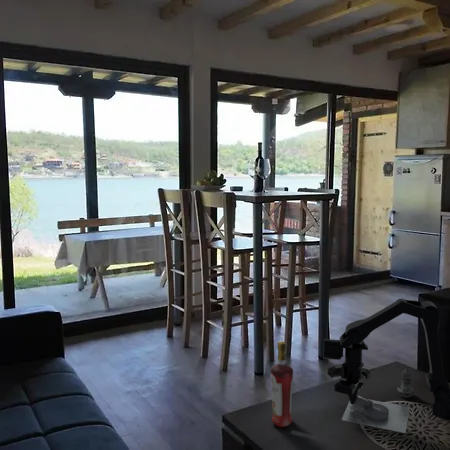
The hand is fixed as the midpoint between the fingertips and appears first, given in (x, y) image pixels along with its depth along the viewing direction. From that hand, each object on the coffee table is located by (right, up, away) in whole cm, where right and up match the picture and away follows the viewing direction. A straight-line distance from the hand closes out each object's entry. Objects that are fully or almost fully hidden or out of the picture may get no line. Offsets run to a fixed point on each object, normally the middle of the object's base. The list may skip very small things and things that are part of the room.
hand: (352, 403), depth 166 cm
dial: (+5, -2, -2) cm, 6 cm away
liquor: (-25, -4, -7) cm, 27 cm away
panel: (+7, -3, -4) cm, 9 cm away
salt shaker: (+22, -2, +8) cm, 23 cm away
